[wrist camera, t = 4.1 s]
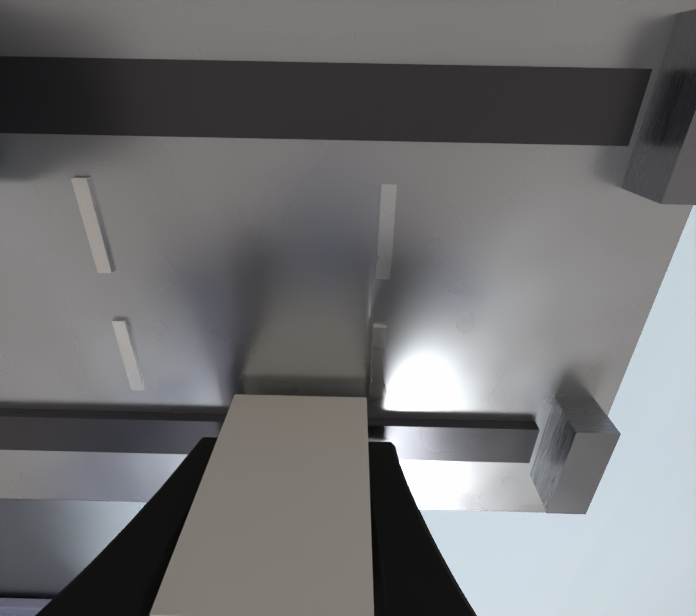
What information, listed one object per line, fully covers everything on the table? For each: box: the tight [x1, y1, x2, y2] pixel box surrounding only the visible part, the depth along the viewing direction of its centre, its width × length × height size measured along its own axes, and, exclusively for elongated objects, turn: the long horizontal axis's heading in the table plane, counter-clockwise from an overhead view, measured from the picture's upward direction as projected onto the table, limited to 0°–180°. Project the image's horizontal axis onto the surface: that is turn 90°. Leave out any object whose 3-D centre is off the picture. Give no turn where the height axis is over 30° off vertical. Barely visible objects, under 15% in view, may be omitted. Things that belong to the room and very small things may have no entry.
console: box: [0, 0, 696, 514], centre depth 9 cm, size 14×24×2 cm, turn 89°
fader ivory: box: [149, 394, 374, 616], centre depth 9 cm, size 3×3×5 cm
